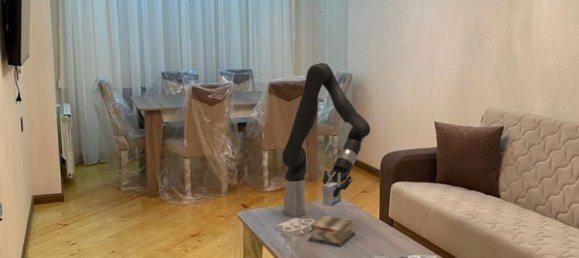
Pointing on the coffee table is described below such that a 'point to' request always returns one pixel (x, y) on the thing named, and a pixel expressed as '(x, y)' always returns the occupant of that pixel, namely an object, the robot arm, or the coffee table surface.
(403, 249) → the coffee table surface
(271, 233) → the coffee table surface
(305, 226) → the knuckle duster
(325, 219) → the stand
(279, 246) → the coffee table surface
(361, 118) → the robot arm
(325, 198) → the medicine box
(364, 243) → the coffee table surface
